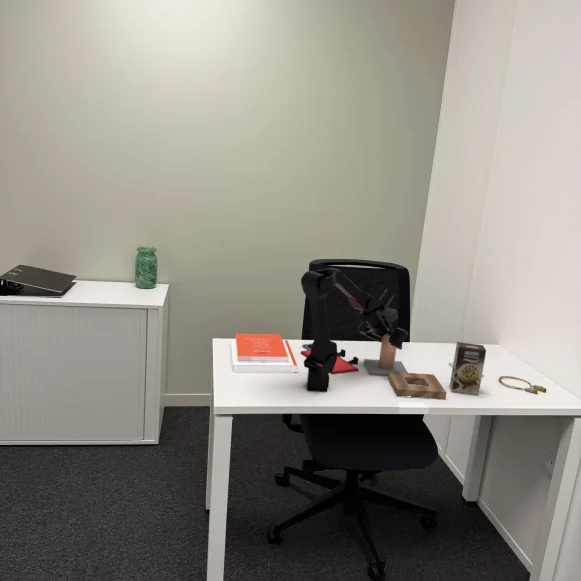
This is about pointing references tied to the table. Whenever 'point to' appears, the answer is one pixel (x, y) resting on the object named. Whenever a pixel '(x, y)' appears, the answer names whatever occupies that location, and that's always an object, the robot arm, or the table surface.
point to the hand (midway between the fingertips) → (391, 345)
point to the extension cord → (525, 388)
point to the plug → (387, 354)
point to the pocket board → (429, 381)
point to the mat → (376, 370)
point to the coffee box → (467, 368)
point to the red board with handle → (337, 361)
